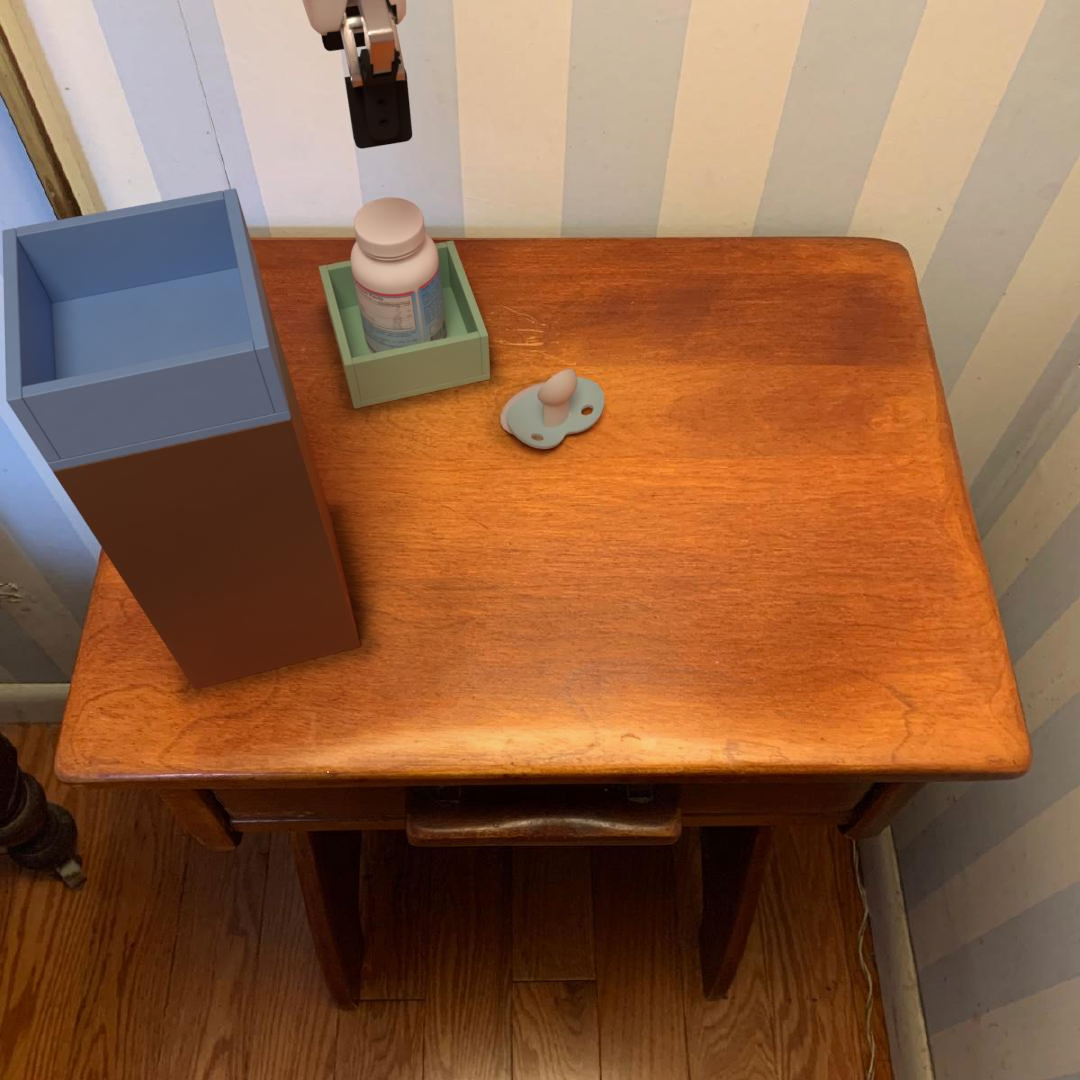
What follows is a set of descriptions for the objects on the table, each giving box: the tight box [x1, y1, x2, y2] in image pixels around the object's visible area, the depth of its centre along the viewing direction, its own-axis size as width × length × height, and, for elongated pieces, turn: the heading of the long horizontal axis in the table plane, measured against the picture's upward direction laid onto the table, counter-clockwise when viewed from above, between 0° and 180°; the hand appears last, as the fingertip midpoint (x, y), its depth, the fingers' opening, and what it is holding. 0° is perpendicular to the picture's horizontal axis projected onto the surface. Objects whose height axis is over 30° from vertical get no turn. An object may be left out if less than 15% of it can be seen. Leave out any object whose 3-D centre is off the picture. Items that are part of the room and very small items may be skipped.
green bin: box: [318, 240, 491, 410], centre depth 76 cm, size 10×10×5 cm
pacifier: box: [499, 368, 605, 450], centre depth 71 cm, size 7×6×6 cm
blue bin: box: [1, 187, 361, 690], centre depth 54 cm, size 10×10×27 cm
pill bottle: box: [349, 196, 447, 353], centre depth 72 cm, size 6×6×11 cm
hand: (366, 91), depth 60 cm, fingers open, 9 cm apart
